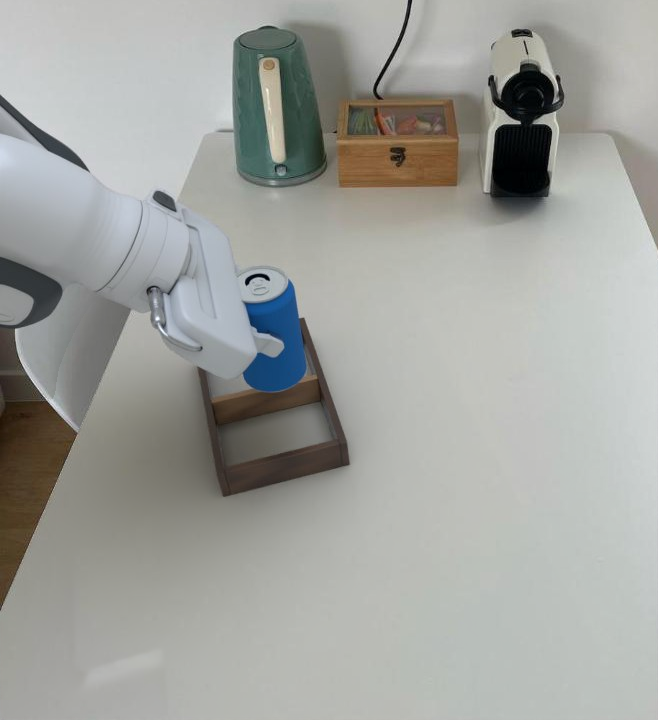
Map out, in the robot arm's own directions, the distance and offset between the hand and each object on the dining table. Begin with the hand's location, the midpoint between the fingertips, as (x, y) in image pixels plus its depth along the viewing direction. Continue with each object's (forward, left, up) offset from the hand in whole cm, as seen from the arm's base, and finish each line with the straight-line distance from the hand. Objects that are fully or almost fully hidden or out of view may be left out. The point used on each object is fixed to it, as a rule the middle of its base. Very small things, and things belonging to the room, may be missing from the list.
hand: (272, 322), depth 79 cm
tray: (-2, +5, -16) cm, 17 cm away
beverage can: (-1, 0, -7) cm, 7 cm away
